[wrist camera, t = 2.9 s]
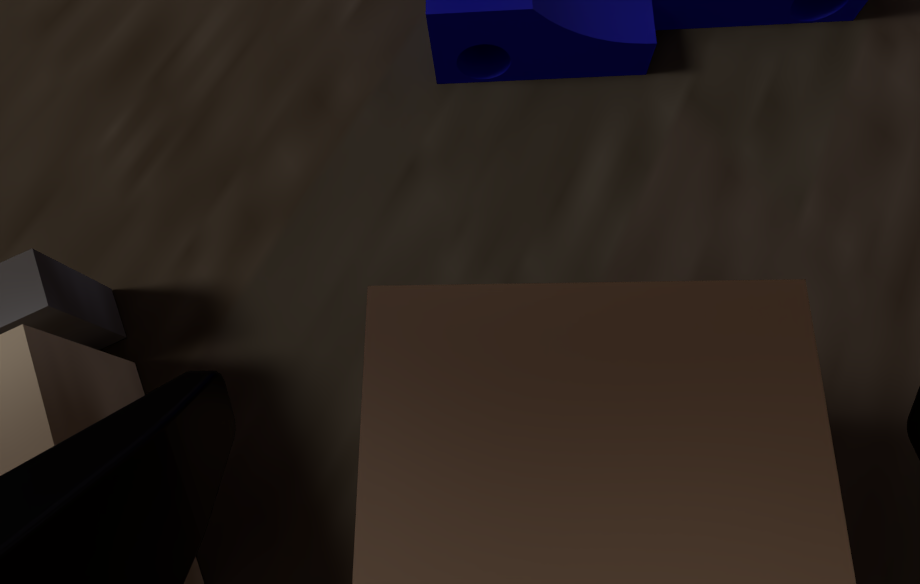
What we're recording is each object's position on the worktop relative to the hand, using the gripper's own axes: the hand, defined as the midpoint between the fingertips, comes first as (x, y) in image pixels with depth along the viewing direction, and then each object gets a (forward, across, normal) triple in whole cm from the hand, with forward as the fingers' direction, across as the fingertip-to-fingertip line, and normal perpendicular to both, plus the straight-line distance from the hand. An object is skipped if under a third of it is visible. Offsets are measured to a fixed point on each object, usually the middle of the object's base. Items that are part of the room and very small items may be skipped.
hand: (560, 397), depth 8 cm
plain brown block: (+4, 0, +6) cm, 7 cm away
